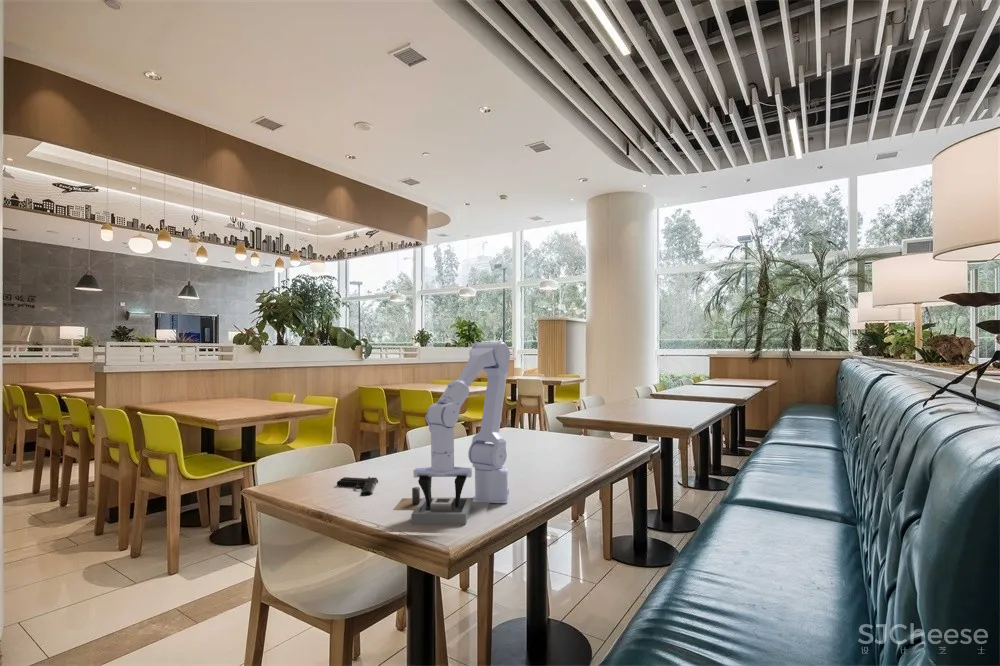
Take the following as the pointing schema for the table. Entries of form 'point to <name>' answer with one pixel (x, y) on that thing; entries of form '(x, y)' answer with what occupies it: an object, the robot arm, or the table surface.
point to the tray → (442, 514)
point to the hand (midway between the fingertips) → (443, 505)
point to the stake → (410, 501)
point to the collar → (443, 504)
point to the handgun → (360, 484)
